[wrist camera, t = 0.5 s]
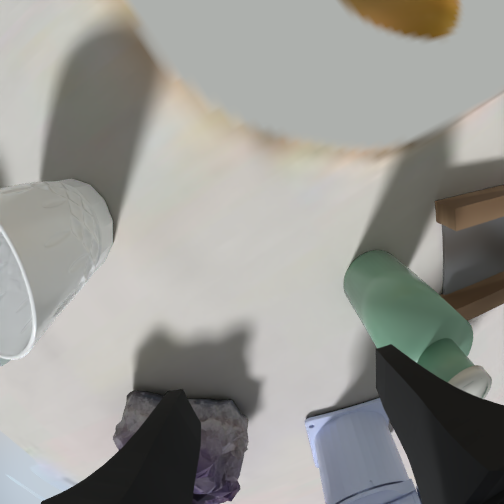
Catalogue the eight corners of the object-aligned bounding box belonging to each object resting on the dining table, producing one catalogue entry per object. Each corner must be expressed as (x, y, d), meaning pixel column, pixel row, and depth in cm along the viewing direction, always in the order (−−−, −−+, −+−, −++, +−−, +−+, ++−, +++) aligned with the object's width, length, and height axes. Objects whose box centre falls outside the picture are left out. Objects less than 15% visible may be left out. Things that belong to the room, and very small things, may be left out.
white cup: (83, 146, 17) (-29, 157, 7) (144, 245, 19) (67, 326, 10) (18, 212, 18) (-77, 255, 9) (71, 296, 20) (-4, 375, 11)
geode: (212, 492, 30) (194, 553, 20) (127, 458, 30) (97, 516, 21) (275, 406, 23) (261, 510, 14) (143, 355, 23) (83, 442, 14)
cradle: (515, 277, 20) (532, 287, 18) (437, 311, 21) (452, 327, 19) (518, 181, 18) (538, 186, 15) (434, 201, 18) (454, 208, 16)
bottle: (402, 298, 21) (493, 409, 9) (347, 315, 21) (414, 448, 10) (398, 243, 19) (517, 337, 8) (339, 259, 20) (428, 383, 8)
